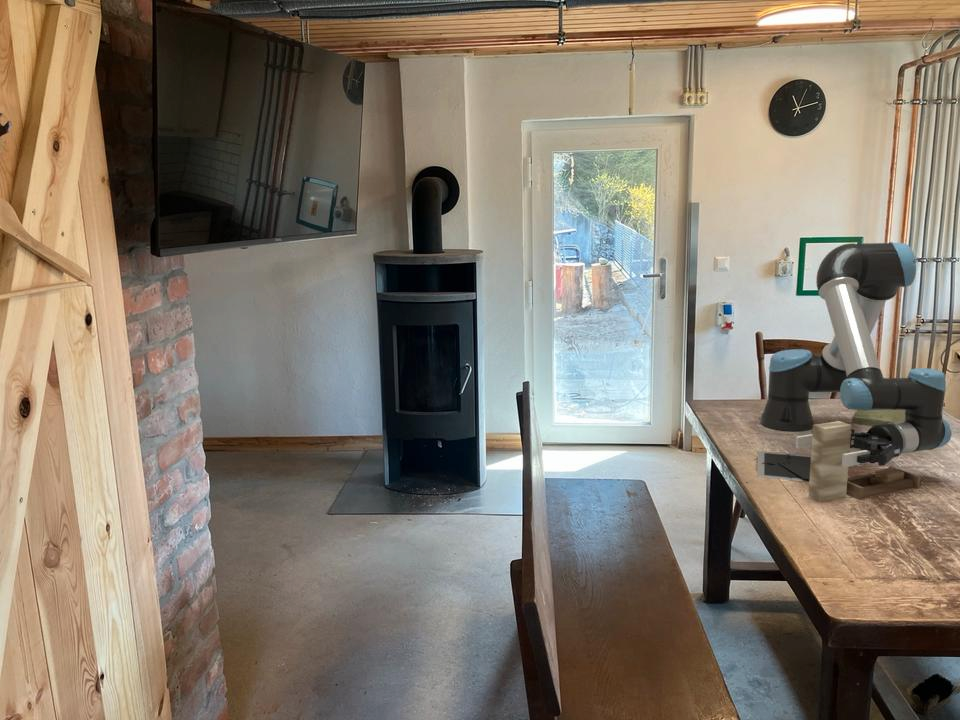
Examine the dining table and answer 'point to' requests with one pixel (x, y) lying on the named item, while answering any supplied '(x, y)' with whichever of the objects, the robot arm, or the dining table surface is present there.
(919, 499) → the dining table surface
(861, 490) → the tray
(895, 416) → the decorative tile
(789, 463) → the picture frame
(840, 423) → the tall grained pillar
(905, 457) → the dining table surface
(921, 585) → the dining table surface
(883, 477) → the oak offcut
